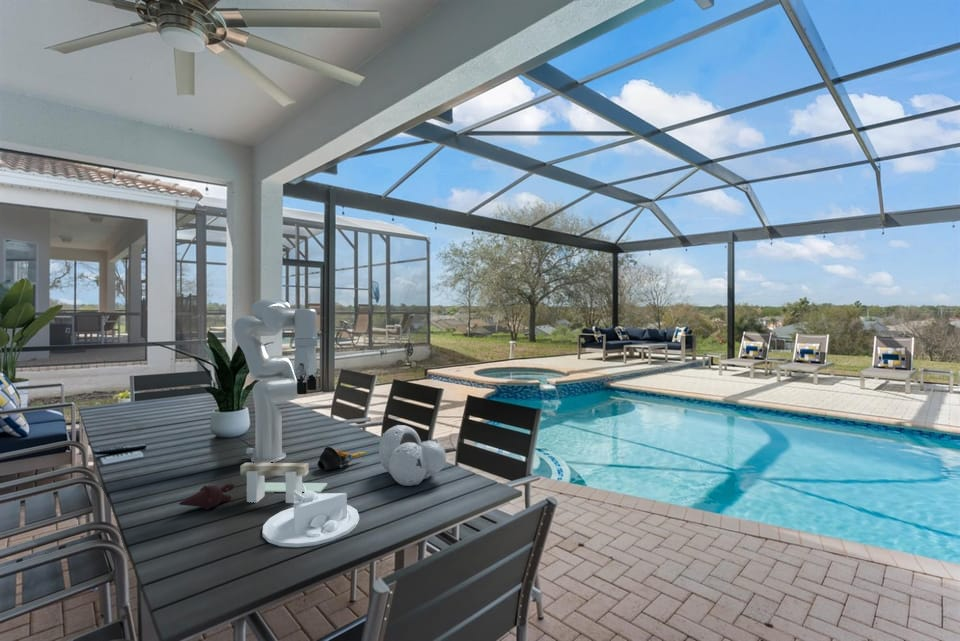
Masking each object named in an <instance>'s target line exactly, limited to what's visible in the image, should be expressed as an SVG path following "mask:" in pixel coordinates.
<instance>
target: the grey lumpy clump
mask: <svg viewBox="0 0 960 641" xmlns="http://www.w3.org/2000/svg"><path fill="white" fill-rule="evenodd" d="M378 446H379V447H378V456H379V462H380V464H381V466H382V467H383V468H384V470H385V471H386V472H388V473H389V474H390V475H391V477H392V478H393V479H394V481H395V482H397V483H398V484H400V485H401V486H407V487H408V486H409V487H410V486H417V485H419V484H420V483H422V482H423V480H425V479H428V478H430V476H431V475H434V474H437V473H439V472H441V470H443V468H444V467H445V465H446V460H447V454H446V449H445V448H444V447H443V446H442V445H441V444H439V443H438V442H437V441H433V440H430V439H428V441H423V442H422V440H421V438H420V436H419V434H418V432H417V431H416V429H414V428H413V427H411V426H408V425H404V424H403V425H402V424H396V425H393V426H392V427H390V428H388V429H387V430H386V431H385V432H384V433H383V434H382V436H381V437H380V441H379V443H378Z"/></svg>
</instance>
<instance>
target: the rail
mask: <svg viewBox="0 0 960 641" xmlns="http://www.w3.org/2000/svg"><path fill="white" fill-rule="evenodd" d="M309 466H310V464H309V462H273V463H253V462H244V463H243V464H241V465H240V468H239V469H240V476H246V472H247V471H258V476H267V477H268V476H269V477H270V476H271V477H272V476H273V477H274V476H275V477H276V476H277V477H282V476H283V477H285V472H286V471H296V476H302V477H305V476H306V475H308V474H309V471H310V470H309V468H310V467H309Z"/></svg>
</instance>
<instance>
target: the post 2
mask: <svg viewBox="0 0 960 641" xmlns="http://www.w3.org/2000/svg"><path fill="white" fill-rule="evenodd" d="M284 478H285V483H286V493H285V503H286V504H294V495H293V494H292V492H293V491H294V490H295V491H297V492H298V493H300V494H303V493H302V484H301V482H300V481H302V482H303V476H296V471H286V472H285V476H284Z"/></svg>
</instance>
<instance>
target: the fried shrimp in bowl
mask: <svg viewBox="0 0 960 641" xmlns="http://www.w3.org/2000/svg"><path fill="white" fill-rule="evenodd" d="M349 453H350V451H346V452H344V451H339V450H336V448H333V447H331V446H326V447H325V448H324V450H323V451H322V452H321V454H320V456H319V460H318V461H317V467H318V468H319V469H320V470H322V472H325V471H326V470H327V471H333V470H335V469H338V468H339V469H344V468H346V467H348V466H349V464H350V463H351V462H352V459H354V458H356V459H357V458H359V457H363V456H364V455H365V454H366V450H362V451H359V452H356V453H352V454H349ZM343 467H344V468H343Z"/></svg>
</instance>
